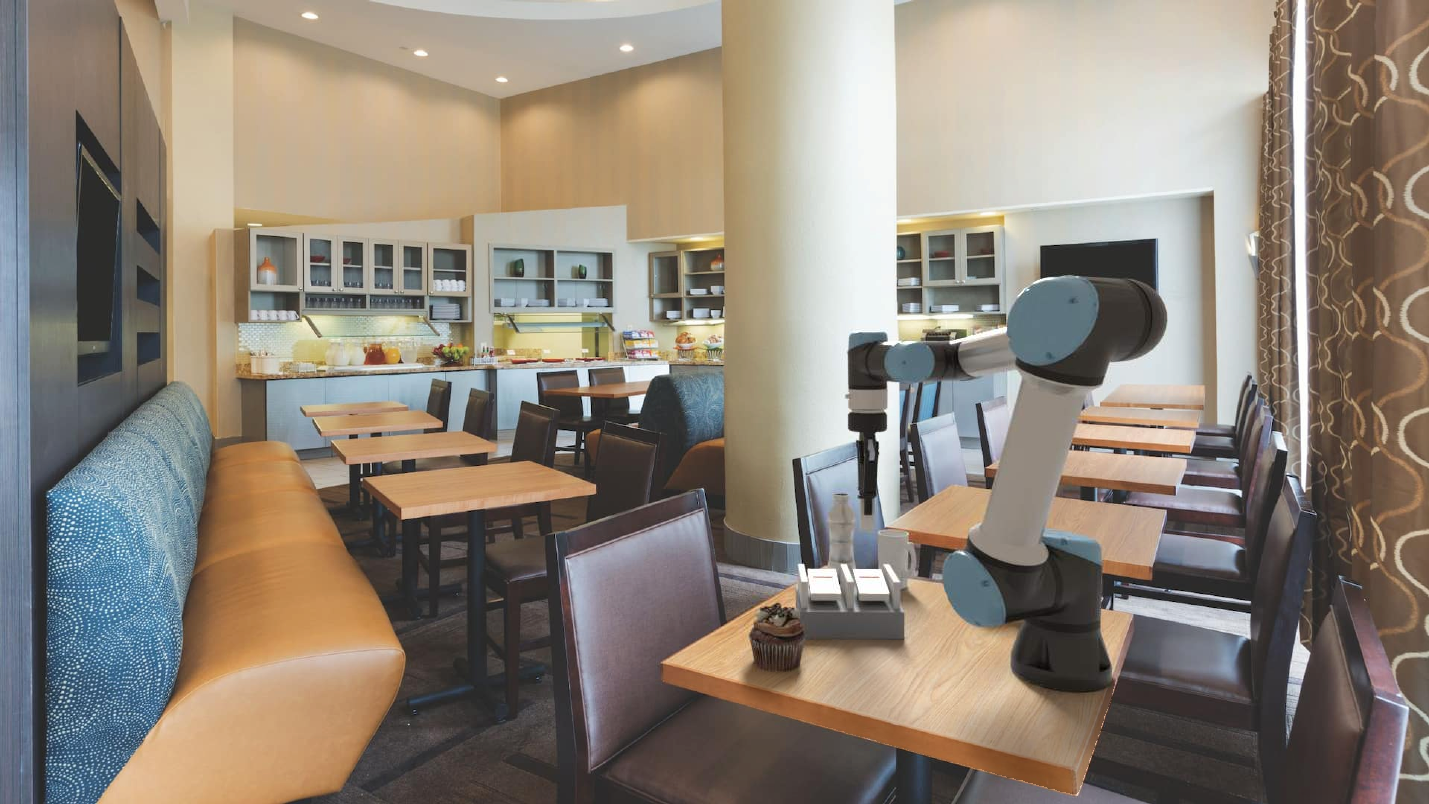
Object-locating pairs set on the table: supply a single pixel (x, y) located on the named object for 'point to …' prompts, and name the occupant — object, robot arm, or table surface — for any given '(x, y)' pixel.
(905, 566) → the mug
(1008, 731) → the table surface
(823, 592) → the block
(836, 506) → the plastic bottle
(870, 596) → the breaker
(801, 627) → the cupcake
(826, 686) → the table surface
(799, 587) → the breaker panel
